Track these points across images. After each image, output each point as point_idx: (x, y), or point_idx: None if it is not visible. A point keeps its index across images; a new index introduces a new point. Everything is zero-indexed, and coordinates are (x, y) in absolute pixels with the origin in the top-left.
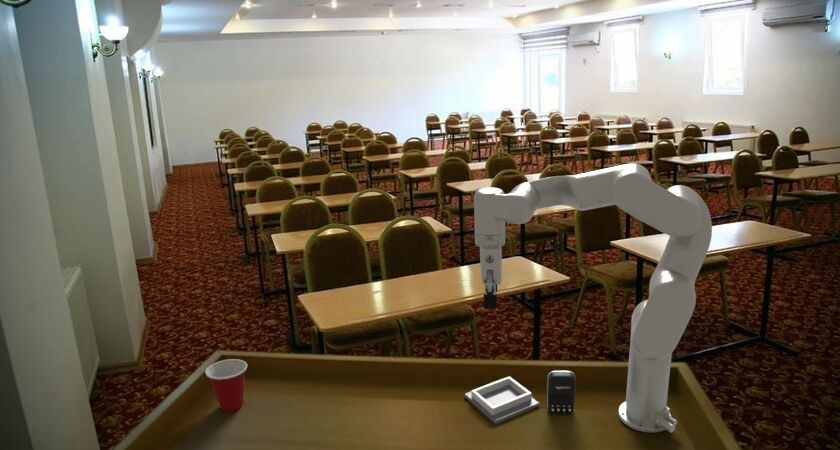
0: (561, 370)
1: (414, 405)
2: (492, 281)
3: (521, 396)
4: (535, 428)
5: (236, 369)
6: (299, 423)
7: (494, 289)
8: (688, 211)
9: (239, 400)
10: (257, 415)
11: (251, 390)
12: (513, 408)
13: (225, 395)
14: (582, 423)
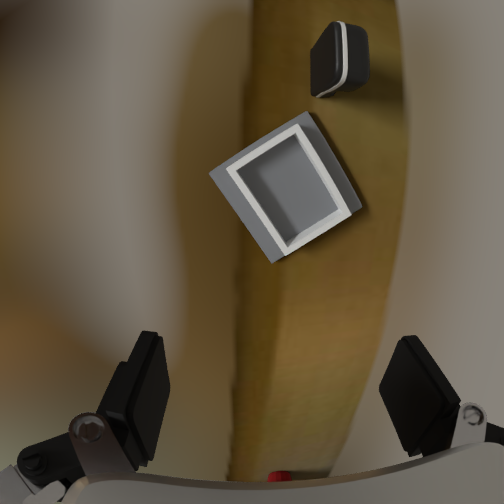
0: (338, 45)
1: (293, 339)
2: (144, 418)
3: (311, 148)
4: (374, 132)
5: None
6: (317, 436)
7: (481, 439)
8: None
9: (286, 478)
10: (297, 461)
11: (251, 471)
12: (326, 167)
13: None
14: None
